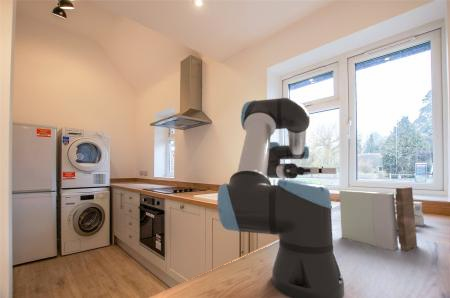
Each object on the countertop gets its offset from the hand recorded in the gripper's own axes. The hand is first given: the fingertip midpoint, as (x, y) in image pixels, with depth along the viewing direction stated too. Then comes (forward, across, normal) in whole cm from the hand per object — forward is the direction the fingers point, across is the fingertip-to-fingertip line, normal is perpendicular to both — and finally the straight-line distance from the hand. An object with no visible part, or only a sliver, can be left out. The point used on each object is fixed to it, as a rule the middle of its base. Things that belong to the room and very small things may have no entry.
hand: (327, 170), depth 94 cm
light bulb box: (+13, -50, -26) cm, 57 cm away
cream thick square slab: (+14, 0, -26) cm, 29 cm away
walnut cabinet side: (+22, -5, -26) cm, 34 cm away
